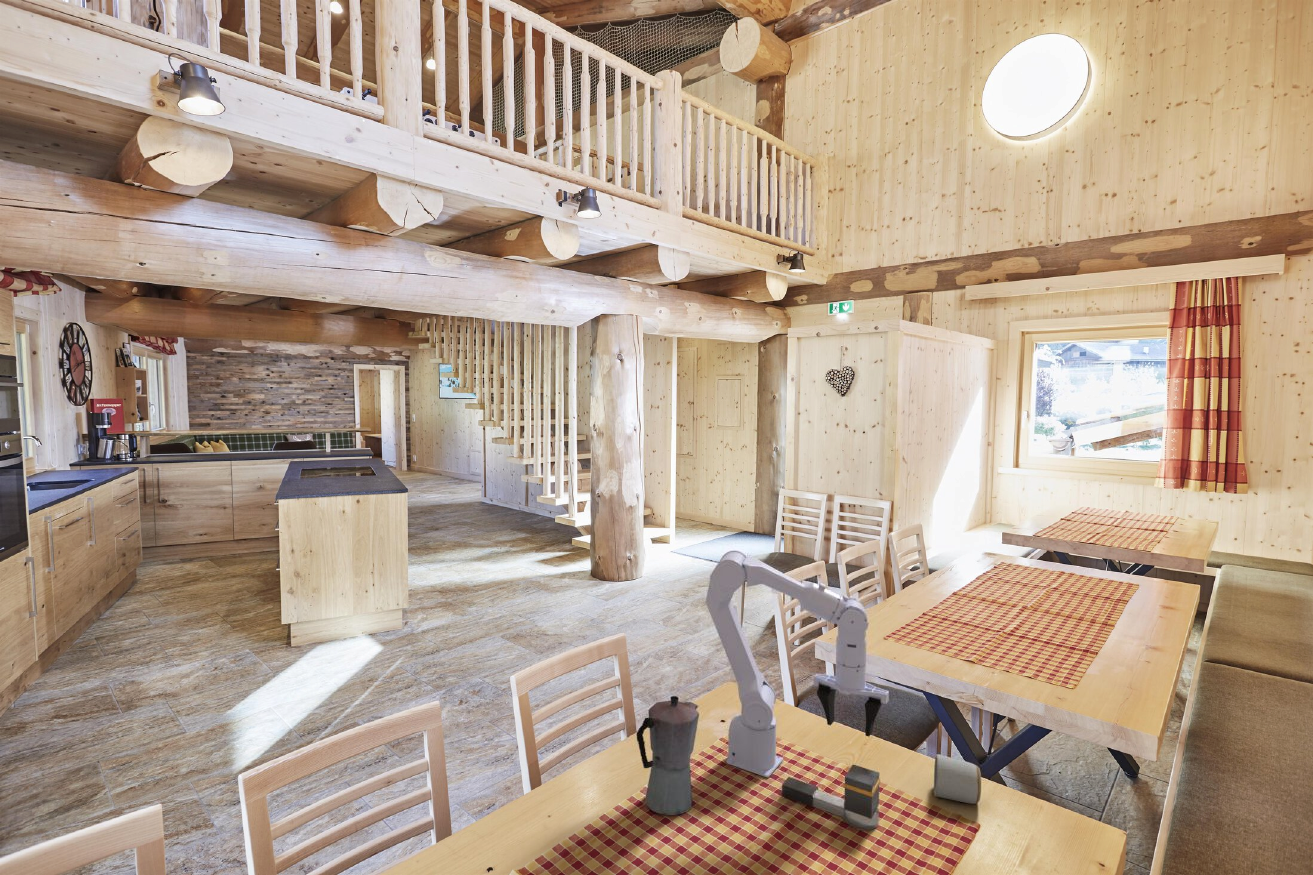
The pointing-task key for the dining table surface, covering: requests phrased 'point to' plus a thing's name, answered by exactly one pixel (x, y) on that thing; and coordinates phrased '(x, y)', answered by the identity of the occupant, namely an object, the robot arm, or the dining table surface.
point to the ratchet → (826, 803)
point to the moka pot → (669, 755)
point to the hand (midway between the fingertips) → (849, 728)
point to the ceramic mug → (957, 780)
